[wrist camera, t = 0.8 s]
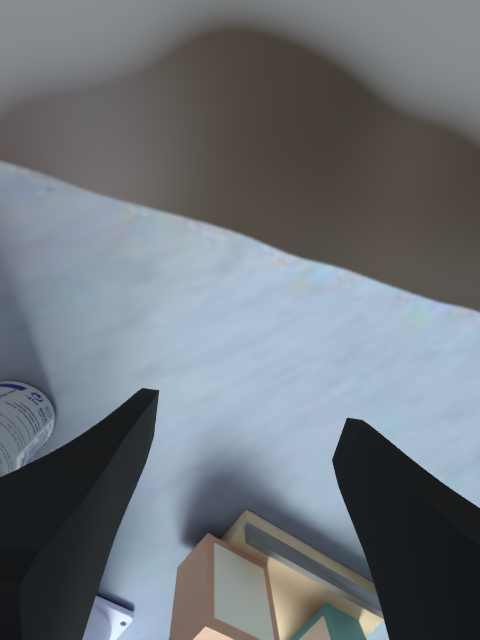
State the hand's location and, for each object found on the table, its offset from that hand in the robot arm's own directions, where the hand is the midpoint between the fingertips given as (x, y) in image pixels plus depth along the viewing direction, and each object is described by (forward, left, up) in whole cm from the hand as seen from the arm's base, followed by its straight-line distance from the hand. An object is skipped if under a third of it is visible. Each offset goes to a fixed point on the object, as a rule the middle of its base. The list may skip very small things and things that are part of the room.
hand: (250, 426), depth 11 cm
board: (-15, -18, -10) cm, 26 cm away
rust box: (-15, -10, -9) cm, 20 cm away
